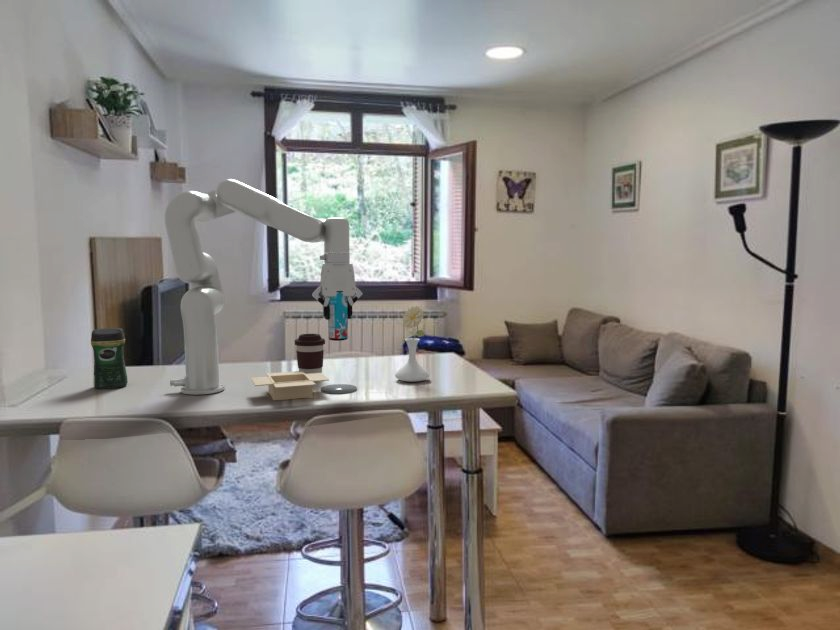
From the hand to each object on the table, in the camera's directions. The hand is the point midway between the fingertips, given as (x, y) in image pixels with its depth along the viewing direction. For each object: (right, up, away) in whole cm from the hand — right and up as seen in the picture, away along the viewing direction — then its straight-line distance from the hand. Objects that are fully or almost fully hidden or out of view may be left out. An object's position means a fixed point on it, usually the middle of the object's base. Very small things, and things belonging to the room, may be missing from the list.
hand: (338, 318), depth 186 cm
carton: (-14, -23, -4) cm, 27 cm away
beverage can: (0, -7, +1) cm, 7 cm away
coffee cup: (-12, -21, +18) cm, 30 cm away
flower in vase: (+23, -21, +15) cm, 35 cm away
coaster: (0, -22, +2) cm, 22 cm away
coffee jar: (-73, -22, +7) cm, 76 cm away
